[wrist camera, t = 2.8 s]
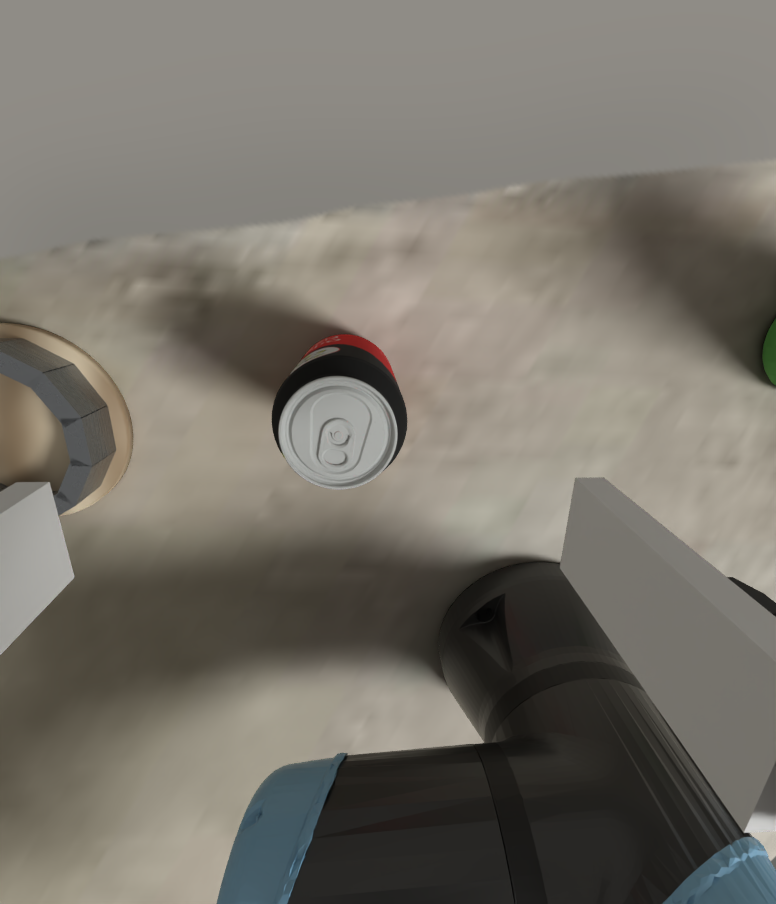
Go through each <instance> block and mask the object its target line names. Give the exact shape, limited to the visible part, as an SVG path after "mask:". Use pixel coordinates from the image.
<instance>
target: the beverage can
mask: <svg viewBox="0 0 776 904" xmlns="http://www.w3.org/2000/svg"><path fill="white" fill-rule="evenodd" d="M272 428H273V433H274V437H275V440H276V443H277V445H278V448H279V450H280V452H281V453H282V455H283V456H284V458H285V459H286V461H287V462H288V464H289V465H290V466H291V468H292V469H293V470H294V471H295V472H296V473H297V474H298V475H299V476H301V477H302V478H303V479H305V480H307V481H308V482H310V483H312V484H314V485H317V486H320V487H323V488H328V489H336V490H342V489H350V488H355V487H358V486H361V485H364V484H366V483H368V482H369V481H371V480H373V479H374V478H376V477H377V476H378V475H379V474H380V473H381V472H383V471H384V470H385V469H386V468H387V467H388V466H389V465H390V464H391V463H392V462H393V460H394V459H395V458H396V456H397V454H398V453H399V451H400V449H401V447H402V445H403V442H404V439H405V436H406V430H407V412H406V407H405V403H404V400H403V398H402V395H401V392H400V390H399V387H398V384H397V382H396V379H395V376H394V374H393V371H392V368H391V366H390V363H389V361H388V359H387V358H386V356H385V355H384V353H383V352H382V351H381V350H380V349H379V348H378V347H377V346H376V345H374V344H373V343H372V342H370V341H368V340H366V339H364V338H362V337H359V336H355V335H348V334H342V335H334V336H330V337H327V338H325V339H323V340H321V341H319V342H318V343H316V344H315V345H314V346H312V347H311V348H310V349H309V350H308V352H307V353H306V354H305V355H304V357H303V358H302V359H301V360H300V362H299V363H298V364H297V366H296V367H295V368H294V370H293V371H292V372H291V373H290V375H289V376H288V377H287V379H286V380H285V381H284V383H283V384H282V386H281V387H280V389H279V391H278V393H277V395H276V398H275V401H274V405H273V410H272Z"/></svg>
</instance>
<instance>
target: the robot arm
mask: <svg viewBox="0 0 776 904" xmlns="http://www.w3.org/2000/svg"><path fill="white" fill-rule="evenodd" d="M74 578H75V577H74V573H73V569H72V566H71V562H70V558H69V554H68V550H67V547H66V543H65V539H64V535H63V531H62V527H61V524H60V520H59V516H58V512H57V508H56V505H55V501H54V497H53V493H52V489H51V486H50V482H16V483H14V484H13V485H11V486H9V487H8V488H6V489H4V490H3V491H1V492H0V655H1V654H2V653H3V652H4V651H5V650H6V649H7V648H8V647H9V645H10V644H11V643H12V642H13V641H14V640H15V639H16V638H17V637H18V636H19V635H20V634H21V633H22V632H23V631H24V630H25V629H26V628H27V627H28V626H29V625H30V624H31V622H32V621H33V620H34V619H35V618H36V617H37V616H38V615H39V614H40V613H41V612H42V611H43V610H44V609H45V608H46V607H47V606H48V605H49V604H50V603H51V602H52V601H53V599H54V598H55V597H56V596H57V595H58V594H59V593H60V592H61V591H62V590H63V589H64V588H65V587H66V586H67V585H68V584H69V583H70V582H71V581H72V580H73V579H74ZM438 647H439V655H440V660H441V665H442V669H443V674H444V677H445V680H446V683H447V685H448V687H449V689H450V691H451V693H452V695H453V696H454V698H455V699H456V701H457V702H458V704H459V705H460V707H461V708H462V710H463V711H464V713H465V714H466V716H467V717H468V719H469V720H470V722H471V723H472V725H473V726H474V728H475V729H476V731H477V732H478V734H479V735H480V737H481V738H482V740H483V741H484V743H482V744H466V745H455V746H444V747H433V748H423V749H412V750H401V751H390V752H379V753H369V754H358V755H348V754H347V753H340V754H337V755H336V756H335V757H334V758H327V759H321V760H314V761H307V762H301V763H294V764H289V765H285V766H283V767H281V768H279V769H277V770H275V771H274V772H273V773H272V774H270V775H269V776H268V777H267V778H266V779H265V780H264V781H263V783H262V784H261V785H260V787H259V788H258V790H257V791H256V793H255V794H254V796H253V798H252V800H251V802H250V804H249V806H248V808H247V810H246V812H245V814H244V817H243V819H242V822H241V824H240V827H239V830H238V833H237V836H236V838H235V841H234V844H233V847H232V850H231V853H230V856H229V860H228V863H227V866H226V870H225V873H224V877H223V880H222V884H221V888H220V892H219V896H218V900H217V904H776V870H775V868H774V866H773V865H772V863H771V862H770V860H769V858H768V854H767V852H766V850H765V848H764V846H763V845H762V844H761V843H760V842H759V840H757V839H755V838H754V837H752V835H751V834H750V833H751V832H769V831H776V603H775V602H774V601H772V600H771V599H770V598H769V597H767V596H766V595H765V594H763V593H762V592H760V591H758V590H756V589H754V588H752V587H750V586H748V585H746V584H744V583H743V582H741V581H739V580H737V579H735V578H733V577H726V576H725V575H723V574H722V573H721V572H720V571H718V570H717V569H716V568H715V567H713V566H712V565H711V564H710V563H709V562H707V561H706V560H705V559H704V558H702V557H701V556H700V555H699V554H697V553H696V552H695V551H694V550H693V549H691V548H690V547H689V546H688V545H686V544H685V543H684V542H683V541H681V540H680V539H679V538H678V537H676V536H675V535H674V534H673V533H672V532H670V531H669V530H668V529H667V528H665V527H664V526H663V525H662V524H660V523H659V522H658V521H657V520H656V519H654V518H653V517H652V516H651V515H649V514H648V513H647V512H646V511H644V510H643V509H642V508H641V507H639V506H638V505H637V504H636V503H635V502H633V501H632V500H631V499H630V498H628V497H627V496H626V495H625V494H623V493H622V492H621V491H620V490H619V489H617V488H616V487H615V486H614V485H612V484H611V483H610V482H609V481H607V480H606V479H605V478H575V482H574V488H573V494H572V499H571V505H570V511H569V517H568V522H567V528H566V534H565V540H564V545H563V551H562V557H561V563H560V564H556V563H548V562H531V563H523V564H517V565H513V566H509V567H506V568H503V569H500V570H497V571H495V572H493V573H491V574H489V575H487V576H485V577H483V578H481V579H480V580H478V581H477V582H475V583H474V584H472V585H471V586H470V587H469V588H467V589H466V590H465V591H464V592H463V593H462V594H461V595H460V596H459V597H458V598H457V599H456V601H455V602H454V603H453V604H452V606H451V607H450V609H449V610H448V612H447V614H446V616H445V618H444V620H443V623H442V626H441V629H440V633H439V642H438Z"/></svg>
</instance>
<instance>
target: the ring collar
mask: <svg viewBox="0 0 776 904" xmlns="http://www.w3.org/2000/svg"><path fill="white" fill-rule="evenodd" d="M0 373H1V374H3V375H5V376H7V377H9V378H11V379H13V380H15V381H17V382H20V383H22V384H24V385H26V386H28V387H30V388H31V389H32V390H33V391H34V392H35V393H36V395H37V396H38V397H39V398H40V399H41V400H42V401H43V403H44V404H45V405H46V406H47V407H48V408H49V410H50V411H51V412H52V413H53V414H54V415H55V417H56V418H57V419H58V420H59V421H60V422H61V424H62V428H63V433H64V437H65V441H66V445H67V450H68V454H69V458H70V464H69V466H68V469H67V471H66V474H65V476H64V479H63V481H62V484H61V486H60V489H59V490H58V491H52V493H53V497H54V501H55V505H56V508H57V512H58V516H59V515H61V514H63V513H64V512H66V511H68V510H70V509H71V508H73V507H75V506H76V505H77V504H79V503H80V502H81V501H82V500H84V499H85V498H86V497H88V496H89V495H90V494H91V493H93V492H94V491H95V490H97V489H98V488H99V487H100V486H101V485H102V482H103V480H104V478H105V475H106V473H107V471H108V468H109V466H110V464H111V462H112V459H113V457H114V455H115V452H116V444H115V439H114V434H113V429H112V424H111V419H110V414H109V409H108V406H107V404H106V402H105V401H104V400H103V399H102V397H101V396H100V395H99V394H98V393H97V391H96V390H95V389H94V388H93V386H92V385H91V384H90V383H89V381H88V380H87V379H86V378H85V376H84V375H83V374H82V373H81V371H80V370H79V369H78V368H77V367H76V365H75V364H74V363H72V362H70V361H68V360H66V359H64V358H62V357H60V356H58V355H56V354H54V353H52V352H50V351H48V350H46V349H44V348H42V347H40V346H38V345H36V344H34V343H32V342H30V341H28V340H26V339H23V338H0ZM8 487H9V486H6V485H4V484H2V483H0V492H1V491H3V490H4V489H6V488H8Z"/></svg>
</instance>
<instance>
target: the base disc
mask: <svg viewBox="0 0 776 904" xmlns="http://www.w3.org/2000/svg"><path fill="white" fill-rule="evenodd" d="M0 338H23V339H26V340H28V341H30V342H32V343H34V344H36V345H38V346H40V347H42V348H44V349H46V350H48V351H50V352H52V353H54V354H56V355H58V356H60V357H62V358H64V359H66V360H68V361H70V362H72V363H74V364H75V365H76V367H77V368H78V369H79V370H80V371H81V373H82V374H83V375H84V376H85V378H86V379H87V380H88V381H89V383H90V384H91V385H92V386H93V388H94V389H95V390H96V391H97V393H98V394H99V395H100V396H101V397H102V399H103V400H104V401H105V402H106V404H107V406H108V409H109V414H110V419H111V424H112V429H113V434H114V439H115V444H116V452H115V455H114V457H113V459H112V462H111V464H110V466H109V468H108V471H107V473H106V475H105V478H104V480H103V482H102V485H101V486H100V487H99V488H98V489H97V490H95V491H94V492H93V493H91V494H90V495H89V496H88V497H86V498H85V499H84V500H82V501H81V502H80V503H79V504H77V505H76V506H75V507H73V508H71V509H70V510H68V511H66V512H64V513H63V514H61V515H59V516H63V515H68V514H72V513H75V512H78V511H81V510H83V509H85V508H87V507H89V506H91V505H93V504H94V503H96V502H97V501H99V500H100V499H101V498H102V497H104V496H105V495H106V494H107V493H108V492H109V491H111V490H112V489H113V488H114V487H115V486H116V485H117V483H118V482H119V481H120V479H121V478H122V477H123V475H124V473H125V471H126V469H127V467H128V464H129V462H130V459H131V454H132V449H133V429H132V422H131V418H130V414H129V410H128V408H127V405H126V403H125V400H124V398H123V396H122V394H121V393H120V391H119V389H118V387H117V386H116V384H115V383H114V381H113V380H112V379H111V377H110V376H109V375H108V373H107V372H106V371H105V370H104V369H103V368H102V367H101V366H100V364H98V363H97V362H96V361H95V360H94V359H93V358H92V357H91V356H90V355H89V354H87V353H86V352H84V351H83V350H82V349H80V348H79V347H78V346H76V345H75V344H73V343H71V342H69V341H68V340H66V339H64V338H62V337H60V336H58V335H56V334H53V333H51V332H49V331H46V330H42V329H39V328H36V327H32V326H27V325H22V324H12V323H0ZM69 464H70V458H69V454H68V450H67V445H66V441H65V437H64V433H63V428H62V424H61V422H60V421H59V420H58V419H57V418H56V417H55V415H54V414H53V413H52V412H51V411H50V410H49V408H48V407H47V406H46V405H45V404H44V403H43V401H42V400H41V399H40V398H39V397H38V396H37V395H36V393H35V392H34V391H33V390H32V389H31V388H30V387H28V386H26V385H24V384H22V383H20V382H17V381H15V380H13V379H11V378H9V377H7V376H5V375H3V374H1V373H0V483H2V484H4V485H6V486H11V485H13V484H14V483H16V482H50V486H51V489H52V491H58V490H59V489H60V486H61V484H62V481H63V479H64V476H65V474H66V471H67V469H68V466H69Z"/></svg>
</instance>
